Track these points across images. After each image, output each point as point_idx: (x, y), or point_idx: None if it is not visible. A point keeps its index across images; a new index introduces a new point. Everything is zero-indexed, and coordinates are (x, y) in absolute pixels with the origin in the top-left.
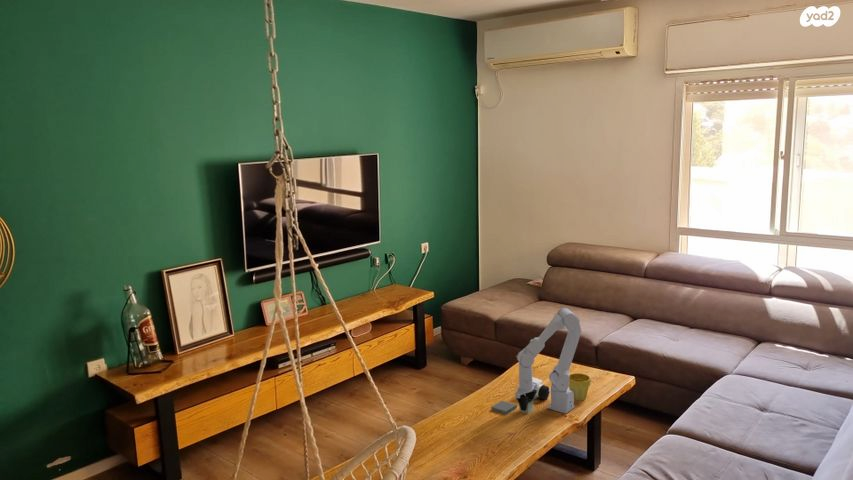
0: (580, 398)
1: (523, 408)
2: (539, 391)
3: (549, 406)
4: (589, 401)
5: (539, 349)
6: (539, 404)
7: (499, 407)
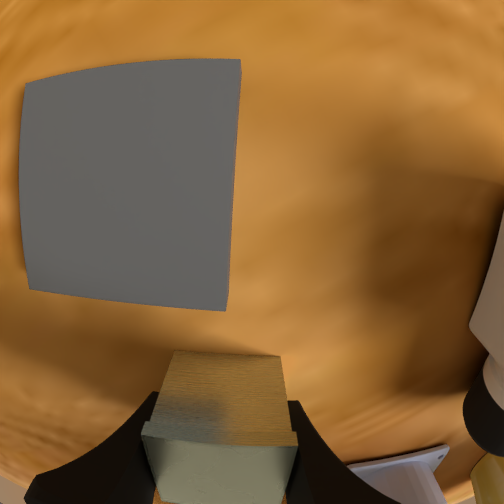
0: (472, 484)
1: None
2: (500, 418)
3: (363, 471)
4: (462, 491)
5: None
6: (397, 404)
7: (49, 164)
